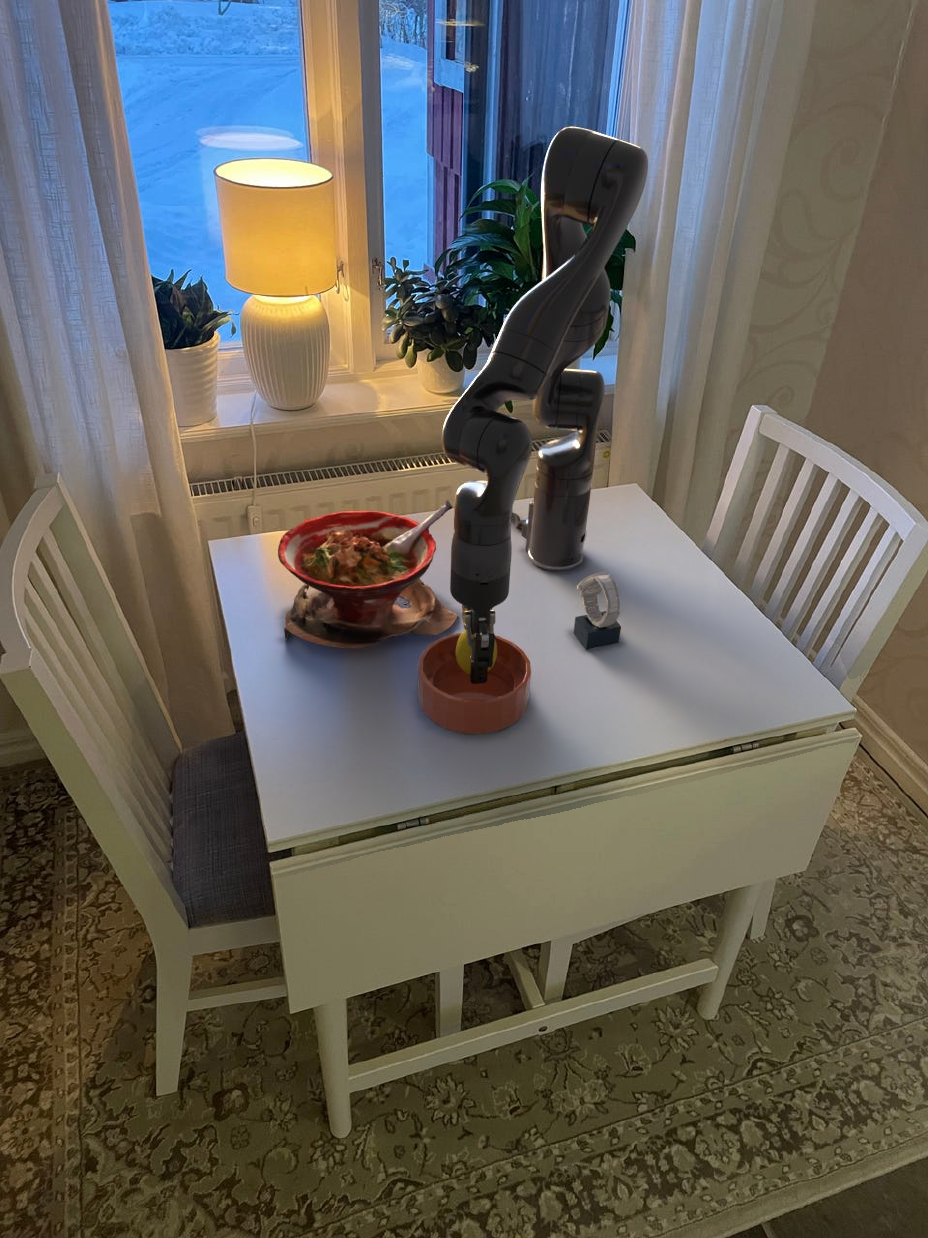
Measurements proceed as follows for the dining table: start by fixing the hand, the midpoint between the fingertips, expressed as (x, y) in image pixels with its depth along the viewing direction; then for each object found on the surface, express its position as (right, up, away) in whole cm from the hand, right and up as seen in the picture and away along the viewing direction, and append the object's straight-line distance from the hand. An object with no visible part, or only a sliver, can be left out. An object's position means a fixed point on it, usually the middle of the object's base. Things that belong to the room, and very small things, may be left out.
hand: (475, 667), depth 126 cm
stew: (-16, +8, +20) cm, 27 cm away
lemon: (0, -1, +1) cm, 1 cm away
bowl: (0, -5, +3) cm, 6 cm away
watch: (+18, +4, +16) cm, 25 cm away
